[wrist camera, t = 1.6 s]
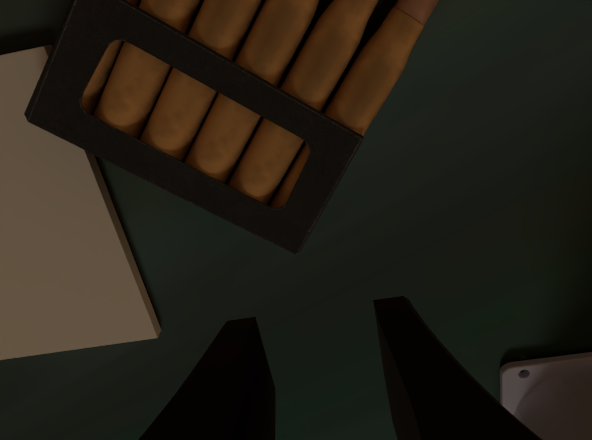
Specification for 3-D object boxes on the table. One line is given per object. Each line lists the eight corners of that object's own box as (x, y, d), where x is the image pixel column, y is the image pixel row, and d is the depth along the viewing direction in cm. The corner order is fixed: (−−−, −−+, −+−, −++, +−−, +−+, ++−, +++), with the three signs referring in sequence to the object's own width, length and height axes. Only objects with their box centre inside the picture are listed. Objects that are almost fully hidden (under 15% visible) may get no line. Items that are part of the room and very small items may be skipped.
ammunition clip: (20, 118, 17) (168, -291, 13) (45, 108, 18) (181, -255, 14) (298, 255, 19) (494, -55, 15) (296, 235, 21) (473, -48, 17)
